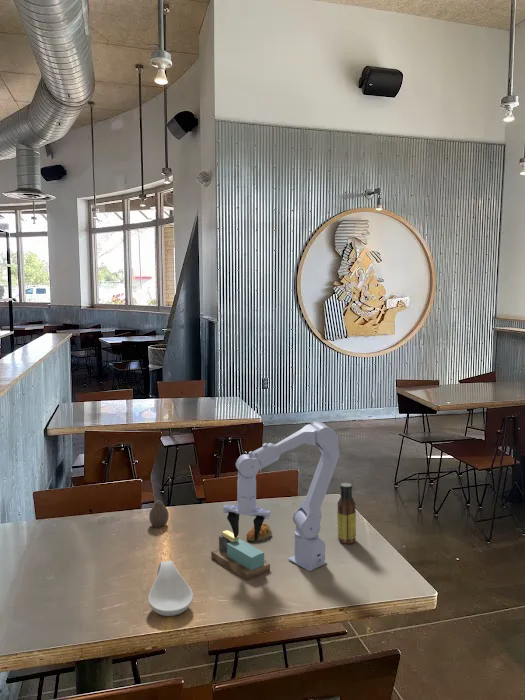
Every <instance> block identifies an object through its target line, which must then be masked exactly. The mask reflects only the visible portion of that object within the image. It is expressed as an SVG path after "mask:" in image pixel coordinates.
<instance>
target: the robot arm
mask: <svg viewBox="0 0 525 700" xmlns="http://www.w3.org/2000/svg"><path fill="white" fill-rule="evenodd" d="M339 439H340V438H339V436H338V434H337V433H336V431H335V430H334V429H333V428H332V427H329V426H327V425H326V424H325V423H324V422H322V421H320V420H315V421H313V422H311V423H309V424H306V425H304V426H303V427H302V428H301V429H299V430H297V431H296V432H294V433H292V434H291V435H289V436H287V437H286V438H284V439H282V440H280V441H279V442H277V443H273V442H269V443H267V442H265V443H263V444H262V446H261V447H259V448H257V449H255V450H253V451H252V450H250V451H249V452H248V453H245V454H244V453H243V454H241V455H240V456H239V457H238V458H237V459H236V462H235V464H234V465H235V467H236V469H237V482H236V484H237V486H236V489H237V493H236V494H237V496H236V497H237V498H236V499H237V500H236V501H237V502H236V503H237V504H225V505H224V506H223V507H222V509H223V510H222V513H223V514H227V513H228V514H227V516H226V519H227V520H228V523H229V524H230V527H231V530H232V533H233V534H234V538H237V536H239V532H240V530H239V528H240V527H239V525H240V522H239V521H240V515H241V516H249V517H255V518H254V519H253V527H254V541H255V542H258V541H257V540H258V538H259V532H260V529H261V526H262V524H264V521H265V519H266V520H269V519H270V517H271V510H269V509H264V508H263V507H262V508H261V507H258V506H257V475H258V473H259V471H260V470H262V469H264V468H265V467H267V466H269V465H271V464H273V463H275V462H277V461H279V459H280V457H281V455H282V454H284V453H287V452H288V451H290V450H292V449H295V448H297V447H299V446H301V445H303V444H304V445H310V446H317V448H318V450H319V452H320V454H321V455H320V458H319V461H318V463H317V466H316V469H315V471H314V474H313V477H312V480H311V483H310V485H309V488H308V490H307V494H306V497H305V498H304V499H305V500H304V501H302V502H301V503H300V504H299V506H298V508H297V509H296V510H295V512H294V513H293V516H292V521H293V523H294V525H295V530H294V553H293V554H294V555H293V556H290V557H288V561H290V562H292V563H293V564H296V565H297V566H299V567H301V568H304V570H307V571H308V572H311V571H313V570H315V569H317V568H320V567H321V566H323V565H326V564H327V563H328V562H327V561H326V543H325V541H324V540H323V539H322V538H321V537H320V536H319V533H320V532H321V521H322V518H323V517H322V505H323V502H324V500H325V497H326V494H327V491H328V489H329V486H330V483H331V480H332V478H333V475H334V472H335V469H336V467H337V464H338V461H339V459H340V449H339V448H340V447H339ZM254 541H253V542H254Z"/></svg>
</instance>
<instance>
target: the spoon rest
mask: <svg viewBox="0 0 525 700" xmlns="http://www.w3.org/2000/svg"><path fill="white" fill-rule="evenodd" d="M156 573H157V574H156V578H155V580H154V582H153V584H152V586H151V587H150V588H151V589H150V590H149V593H148V596H147V597H148V598H147V600H148V601H147V603H148V605H149V607H150V608H151V609H152V611H154V612H155V613H156V614H159V616H164V617H173V616H177V615H180V614H182V613H184V612H185V611H186V610H188V608H190V606H191V605H192V603H193V600H194V593H193V590H192V588H191V587H190V585H189V583H188V582H187V581H186V580H185V579H184V577H183V576H182V575H181V573H180V572H179V570H178V569H177V567H176V566H175V564H174V562H173V561H172V560H167V561H160V562H159V565H158V568H157V572H156Z"/></svg>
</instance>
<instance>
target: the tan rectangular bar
mask: <svg viewBox="0 0 525 700" xmlns="http://www.w3.org/2000/svg"><path fill="white" fill-rule="evenodd" d="M221 535H222V537H224V538H226V539H228V540H229V541H231V542H233V543H235V542H237V541H239V539H240V537H239V535H238V536H237V538H234V533H233V531H230V530H228V529H227V530H223V531H221Z"/></svg>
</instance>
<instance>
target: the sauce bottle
mask: <svg viewBox="0 0 525 700" xmlns="http://www.w3.org/2000/svg"><path fill="white" fill-rule="evenodd" d="M339 488H340V498H339V500H338V501H337V512H336V513H337V540H338V541H339V542H340V543H342V544H346V545H349V544H350V545H351V544H354V543H356V540H357V514H356V513H357V512H356V511H357V510H356V502H355V500H354V498H353V495H352V494H353V492H352V490H353V484H352V483H349V482H342V483H340V485H339Z"/></svg>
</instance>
